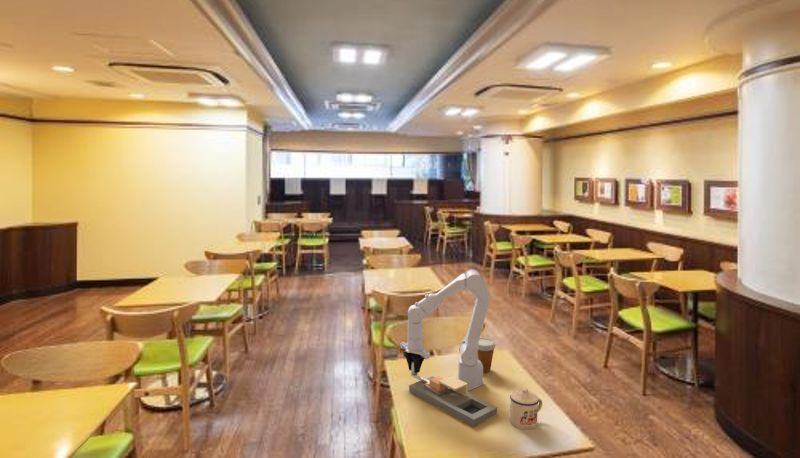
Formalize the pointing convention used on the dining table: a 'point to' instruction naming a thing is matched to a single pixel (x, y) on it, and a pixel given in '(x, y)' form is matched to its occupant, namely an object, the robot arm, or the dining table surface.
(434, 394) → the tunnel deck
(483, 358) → the disposable coffee cup
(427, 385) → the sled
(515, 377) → the dining table surface
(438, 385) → the terracotta block
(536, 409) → the teacup with lid
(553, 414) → the dining table surface
